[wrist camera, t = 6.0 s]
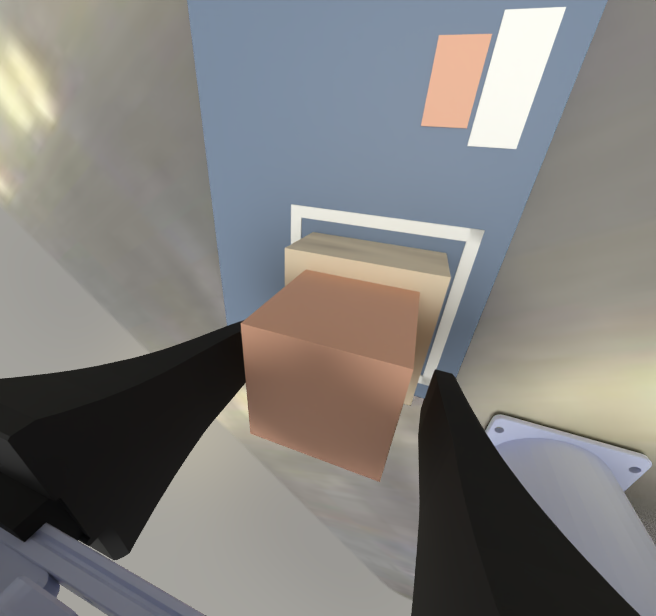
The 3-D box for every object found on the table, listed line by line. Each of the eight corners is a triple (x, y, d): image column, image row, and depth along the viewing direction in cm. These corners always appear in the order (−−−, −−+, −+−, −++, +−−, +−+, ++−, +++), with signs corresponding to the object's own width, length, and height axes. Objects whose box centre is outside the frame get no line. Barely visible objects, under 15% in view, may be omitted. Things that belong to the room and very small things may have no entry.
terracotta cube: (395, 383, 13) (379, 482, 9) (302, 356, 15) (250, 433, 10) (420, 292, 11) (413, 369, 7) (305, 269, 12) (240, 323, 8)
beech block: (413, 363, 17) (410, 405, 14) (308, 336, 18) (284, 368, 15) (446, 252, 13) (450, 277, 10) (313, 231, 15) (284, 247, 12)
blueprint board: (444, 395, 18) (445, 405, 17) (235, 337, 22) (228, 343, 21) (628, -73, 8) (647, -97, 8) (195, -29, 12) (180, -42, 11)
